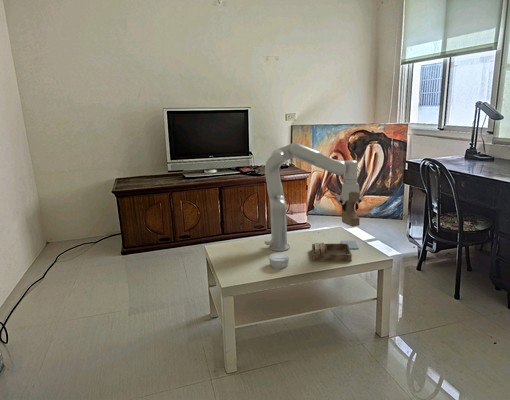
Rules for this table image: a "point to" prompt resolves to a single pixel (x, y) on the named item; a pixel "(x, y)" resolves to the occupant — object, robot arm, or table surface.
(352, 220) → the decorative block
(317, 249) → the offcut
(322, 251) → the offcut
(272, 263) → the ramekin
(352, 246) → the mat
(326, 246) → the rack
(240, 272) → the table surface
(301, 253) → the table surface
